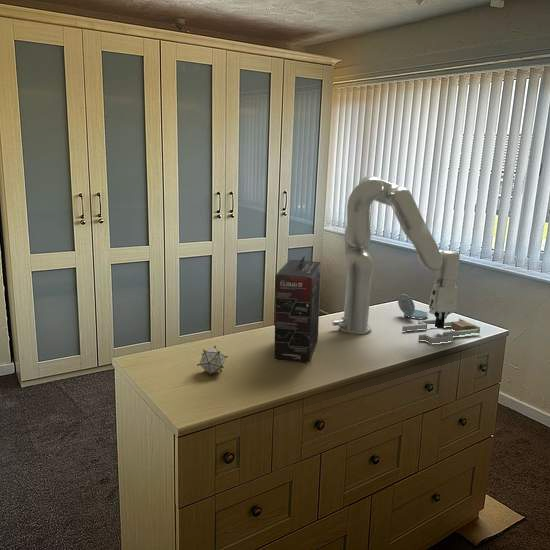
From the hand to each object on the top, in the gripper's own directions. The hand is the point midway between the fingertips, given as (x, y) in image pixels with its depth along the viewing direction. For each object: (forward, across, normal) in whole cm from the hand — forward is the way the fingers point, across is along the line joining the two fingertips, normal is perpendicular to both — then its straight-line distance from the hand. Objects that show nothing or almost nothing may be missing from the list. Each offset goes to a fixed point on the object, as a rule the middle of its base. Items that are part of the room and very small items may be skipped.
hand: (439, 327), depth 202 cm
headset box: (+5, -61, -1) cm, 61 cm away
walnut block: (+3, +10, -1) cm, 11 cm away
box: (+3, +1, 0) cm, 3 cm away
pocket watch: (+3, +5, +22) cm, 23 cm away
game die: (+5, -94, -13) cm, 95 cm away
